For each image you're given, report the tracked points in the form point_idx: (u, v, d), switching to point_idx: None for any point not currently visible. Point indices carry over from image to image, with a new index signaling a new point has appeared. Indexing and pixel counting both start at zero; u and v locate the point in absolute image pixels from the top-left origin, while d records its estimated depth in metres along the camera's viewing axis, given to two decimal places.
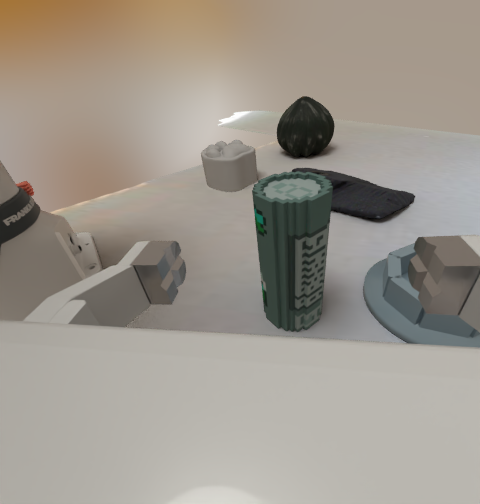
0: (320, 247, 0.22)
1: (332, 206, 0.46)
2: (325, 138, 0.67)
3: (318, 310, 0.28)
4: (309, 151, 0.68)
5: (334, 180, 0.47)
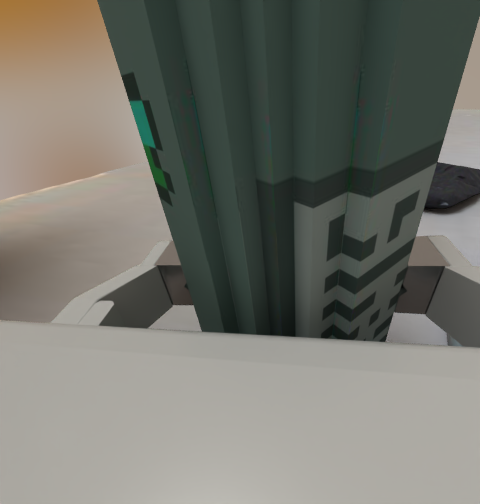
0: (398, 249, 0.05)
1: None
2: None
3: None
4: None
5: None
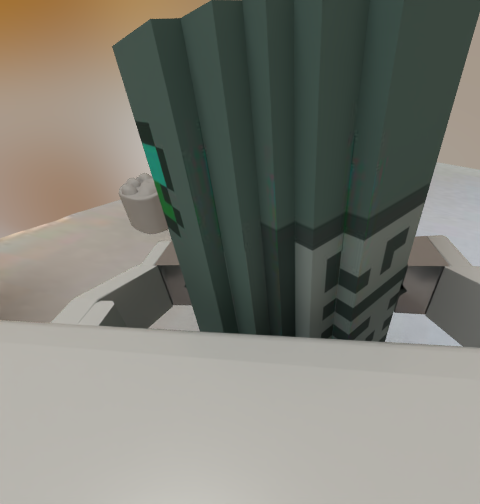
0: (391, 278, 0.06)
1: None
2: None
3: None
4: None
5: None
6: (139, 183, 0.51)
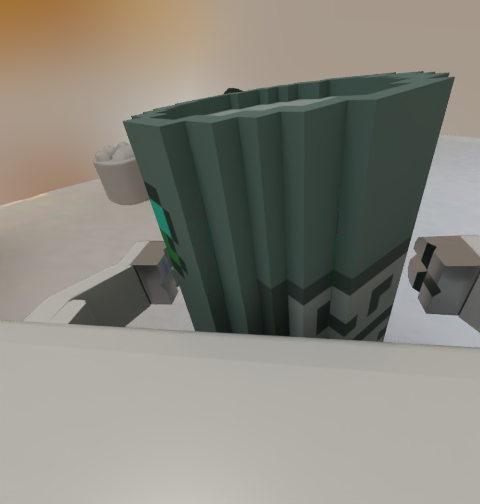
0: (378, 316, 0.06)
1: None
2: None
3: None
4: None
5: None
6: (116, 151, 0.47)
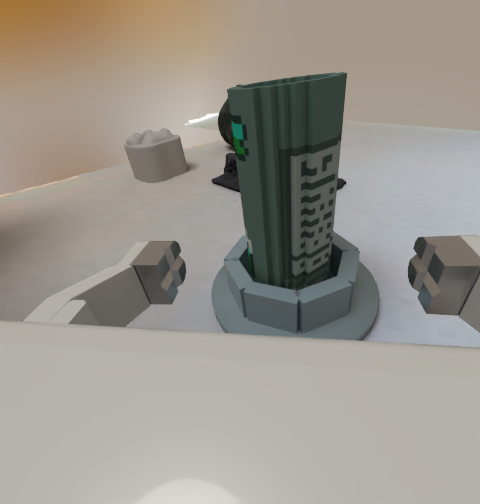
0: (327, 176, 0.15)
1: None
2: None
3: None
4: None
5: None
6: (143, 137, 0.56)
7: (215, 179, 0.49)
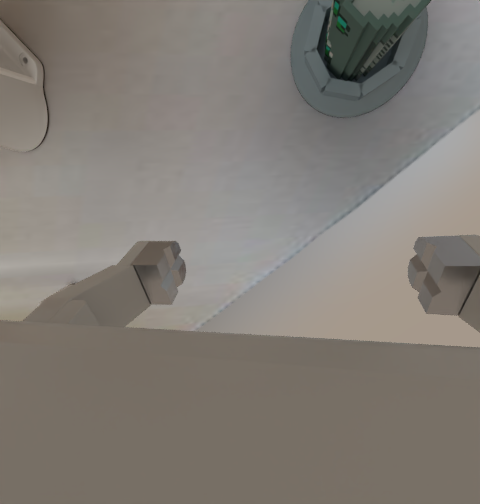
0: None
1: None
2: None
3: (382, 57, 0.28)
4: None
5: None
6: None
7: None
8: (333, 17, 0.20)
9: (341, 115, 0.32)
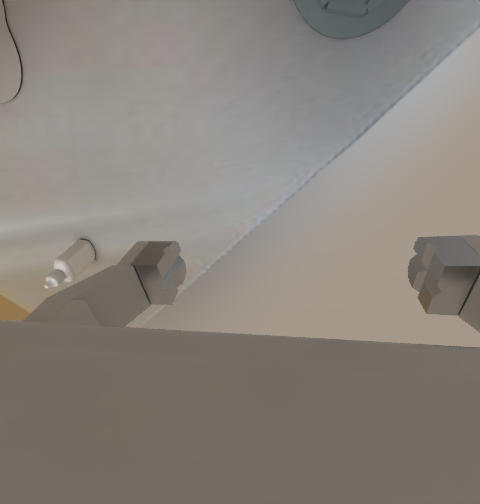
0: None
1: None
2: None
3: None
4: None
5: None
6: None
7: None
8: None
9: (344, 36, 0.30)
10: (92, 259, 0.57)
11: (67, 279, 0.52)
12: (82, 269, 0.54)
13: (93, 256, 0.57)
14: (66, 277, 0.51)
